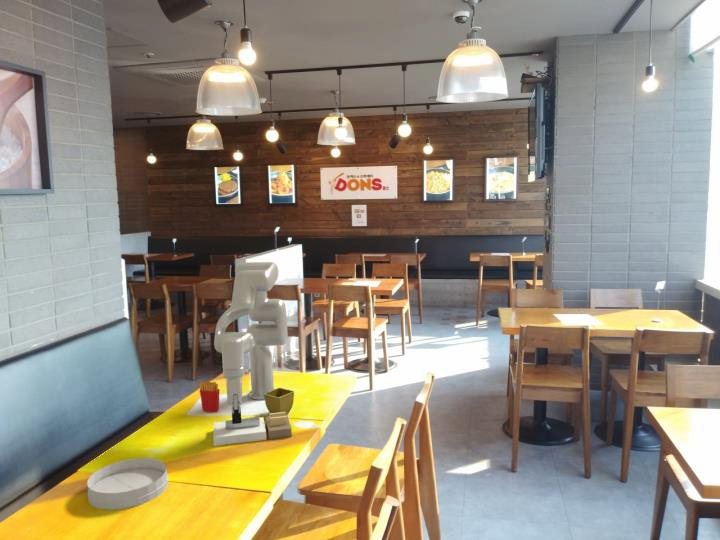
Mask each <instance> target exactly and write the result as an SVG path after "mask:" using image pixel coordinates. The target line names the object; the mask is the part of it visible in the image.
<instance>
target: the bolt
mask: <svg viewBox="0 0 720 540" xmlns="http://www.w3.org/2000/svg"><path fill="white" fill-rule="evenodd" d="M241 409H242V408H241V406H240V412H241V413H242V411H241ZM259 418H260V416H256V417H255V416H254V417H246V418H241V423H238V424H232V419H229V420H225V421H224V422H225V424H226V430H227V429H236V428H244V427H253V426H260V419H259Z"/></svg>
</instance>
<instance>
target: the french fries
mask: <svg viewBox="0 0 720 540" xmlns="http://www.w3.org/2000/svg"><path fill="white" fill-rule="evenodd" d="M198 387H199V395H200V401H201V408H202V412H204V413H213V414H214V413H217V412H218V411H219V410H220V389H219V384H218V383H217V382H215V381H213V382H211V381H207V382H205V381H200V382H199V383H198Z"/></svg>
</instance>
